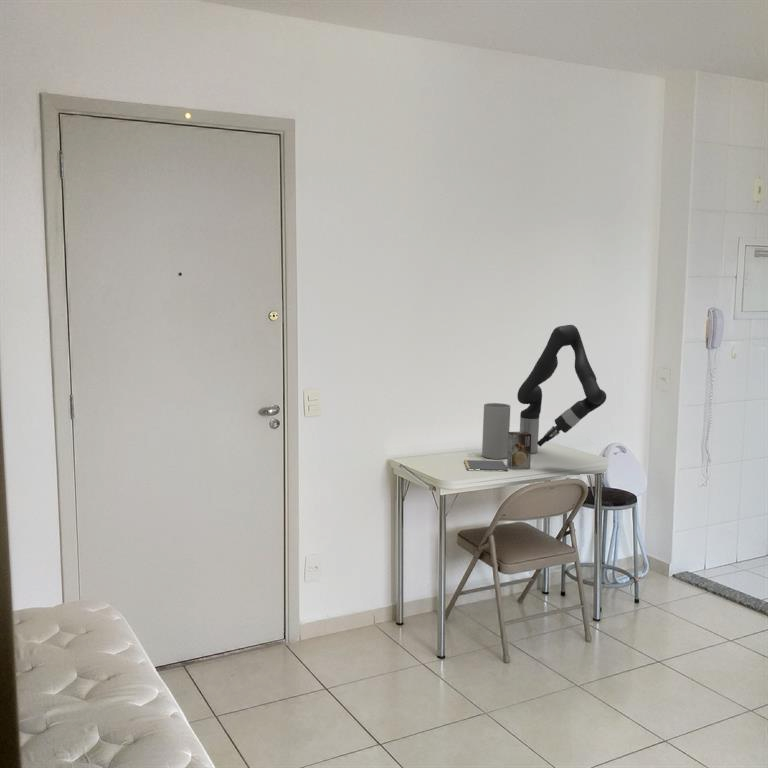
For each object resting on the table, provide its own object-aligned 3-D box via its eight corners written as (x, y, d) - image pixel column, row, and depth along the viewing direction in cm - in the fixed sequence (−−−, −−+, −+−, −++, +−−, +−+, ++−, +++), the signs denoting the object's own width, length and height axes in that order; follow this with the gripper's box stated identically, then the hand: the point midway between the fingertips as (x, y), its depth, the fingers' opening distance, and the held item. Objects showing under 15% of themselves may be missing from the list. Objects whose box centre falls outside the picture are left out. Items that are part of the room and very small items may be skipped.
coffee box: (525, 465, 364) (526, 431, 362) (530, 468, 358) (532, 434, 356) (506, 465, 362) (507, 431, 360) (511, 469, 356) (512, 434, 354)
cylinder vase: (476, 455, 381) (478, 404, 378) (495, 452, 389) (497, 402, 385) (494, 460, 371) (497, 408, 368) (513, 457, 379) (515, 406, 375)
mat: (464, 461, 368) (464, 459, 368) (502, 462, 368) (502, 460, 368) (467, 470, 352) (467, 468, 352) (507, 471, 352) (507, 468, 352)
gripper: (563, 411, 357) (534, 435, 363) (560, 416, 345) (531, 441, 350) (574, 423, 357) (545, 447, 362) (572, 429, 344) (542, 454, 350)
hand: (538, 444), depth 356 cm, fingers closed
